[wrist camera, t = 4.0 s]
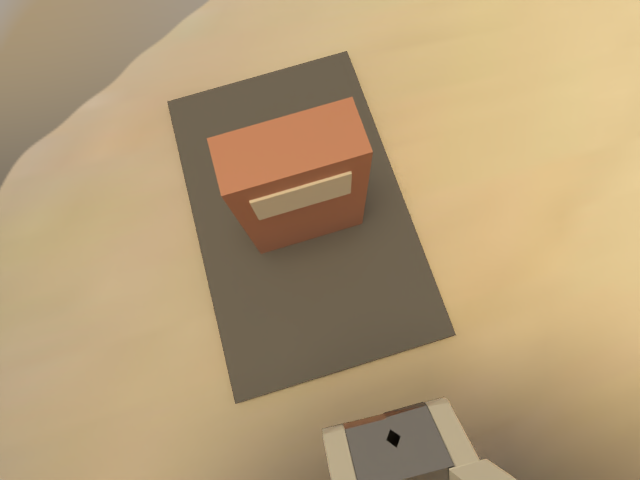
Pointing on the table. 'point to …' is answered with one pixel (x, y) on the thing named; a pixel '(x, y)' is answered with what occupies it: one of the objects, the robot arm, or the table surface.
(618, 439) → the table surface
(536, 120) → the table surface
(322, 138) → the box
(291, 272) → the mat
